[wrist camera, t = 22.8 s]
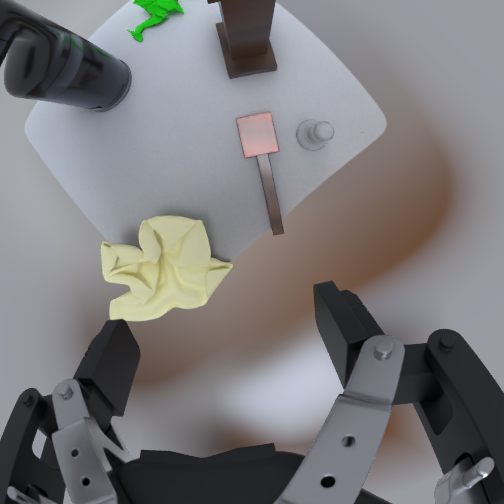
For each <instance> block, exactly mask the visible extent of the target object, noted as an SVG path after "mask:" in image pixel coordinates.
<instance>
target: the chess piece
mask: <svg viewBox="0 0 504 504" xmlns="http://www.w3.org/2000/svg"><path fill="white" fill-rule="evenodd" d="M333 136H334V128H333V126H332V125H331V124H330V123H328V122H325V121H322V122H320V121H317V120H306V121H304V122H303V123H301V124H300V125H299V127H298V129H297V139H298V141H299V143H300V144H301V145H302V146H303V147H304V148H306V149H308V150H312V151H313V150H319V149H321V148H322V147H324V146H325V144H326V143H327V141H328V140H330V139H331V138H332V137H333Z"/></svg>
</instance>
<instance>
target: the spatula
mask: <svg viewBox="0 0 504 504" xmlns="http://www.w3.org/2000/svg"><path fill="white" fill-rule="evenodd" d="M236 121H237V126H238V130H239V134H240V139H241V143H242V148H243V152H244V156H245V158H248V157H253V156H257V160H258V165H259V169H260V174H261V178H262V183H263V188H264V192H265V197H266V202H267V207H268V211H269V216H270V221H271V226H272V231H273V235H279V234H283V233H284V230H283V226H282V220H281V215H280V210H279V204H278V199H277V194H276V190H275V185H274V180H273V175H272V170H271V166H270V161H269V156H268V153H273V152H278V151H279V147H278V142H277V138H276V133H275V129H274V125H273V120H272V116H271V112H267V113H261V114H256V115H251V116H246V117H241V118H237V119H236Z"/></svg>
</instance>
